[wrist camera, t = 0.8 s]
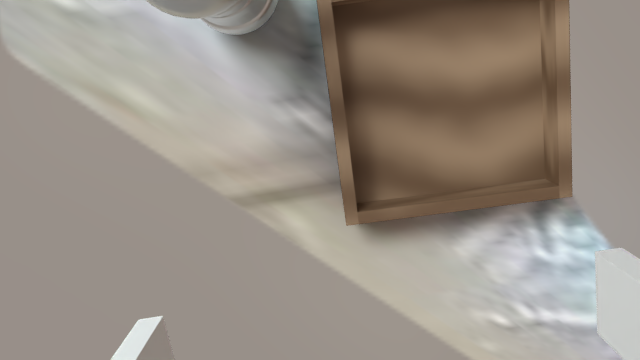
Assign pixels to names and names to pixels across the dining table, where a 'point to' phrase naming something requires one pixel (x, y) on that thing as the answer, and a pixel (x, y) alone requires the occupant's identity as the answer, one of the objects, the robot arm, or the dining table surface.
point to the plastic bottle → (222, 13)
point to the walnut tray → (448, 103)
